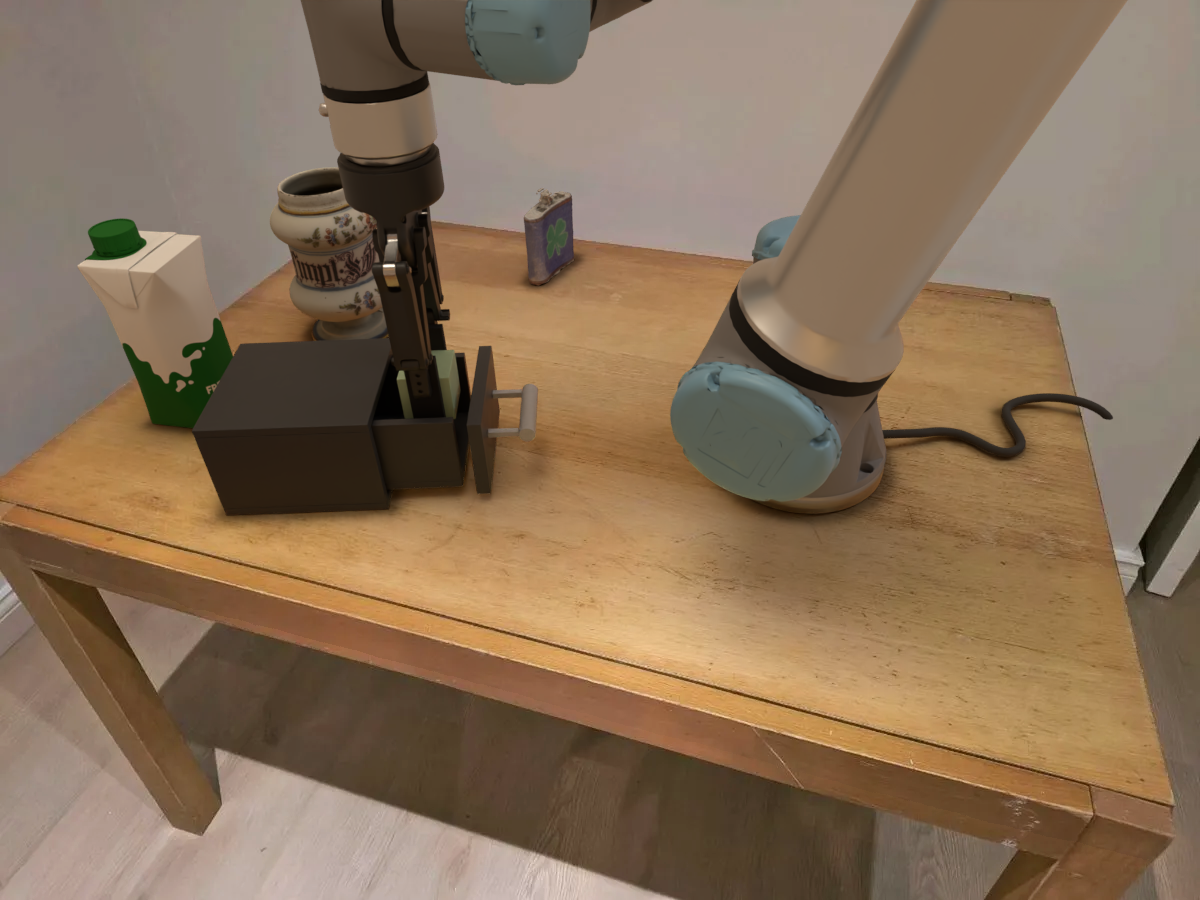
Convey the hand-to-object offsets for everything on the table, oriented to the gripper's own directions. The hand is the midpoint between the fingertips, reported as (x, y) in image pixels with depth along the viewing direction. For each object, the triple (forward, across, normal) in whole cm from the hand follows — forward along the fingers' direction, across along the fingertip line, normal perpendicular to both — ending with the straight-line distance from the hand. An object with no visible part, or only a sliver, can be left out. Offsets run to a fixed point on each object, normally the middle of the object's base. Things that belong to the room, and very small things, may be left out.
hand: (434, 402), depth 79 cm
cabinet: (+7, 0, -12) cm, 13 cm away
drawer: (+6, 0, 0) cm, 6 cm away
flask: (+7, -38, +10) cm, 40 cm away
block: (0, 0, 0) cm, 0 cm away
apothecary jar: (+7, -25, -14) cm, 29 cm away
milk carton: (+7, -10, -26) cm, 29 cm away
